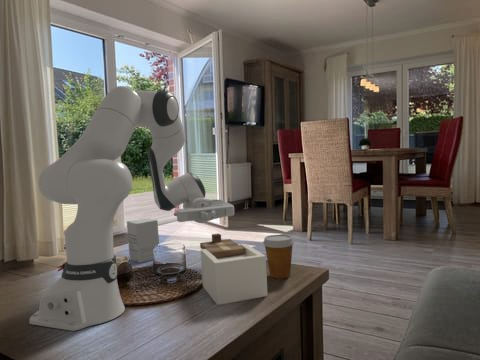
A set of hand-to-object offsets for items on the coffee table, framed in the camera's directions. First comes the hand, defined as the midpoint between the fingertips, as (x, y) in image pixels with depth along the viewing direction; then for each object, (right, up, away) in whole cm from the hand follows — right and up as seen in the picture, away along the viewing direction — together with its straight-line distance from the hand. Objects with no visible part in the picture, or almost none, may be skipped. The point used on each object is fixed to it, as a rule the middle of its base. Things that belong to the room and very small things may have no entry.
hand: (210, 215), depth 127 cm
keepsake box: (+8, -19, -19) cm, 28 cm away
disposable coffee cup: (+22, -18, -7) cm, 30 cm away
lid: (+4, -10, -10) cm, 14 cm away
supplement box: (-27, -19, +21) cm, 39 cm away
